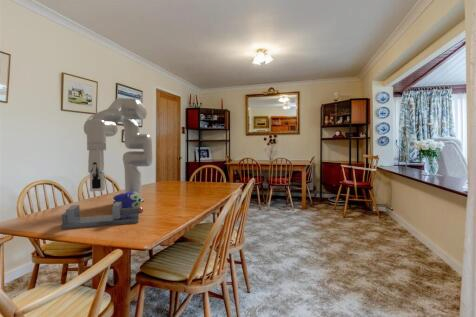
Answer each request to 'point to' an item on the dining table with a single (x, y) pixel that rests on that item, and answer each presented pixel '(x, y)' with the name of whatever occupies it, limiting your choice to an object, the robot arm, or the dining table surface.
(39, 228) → the dining table surface
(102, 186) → the steel block
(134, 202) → the toy
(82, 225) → the vise
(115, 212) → the sliding jaw
